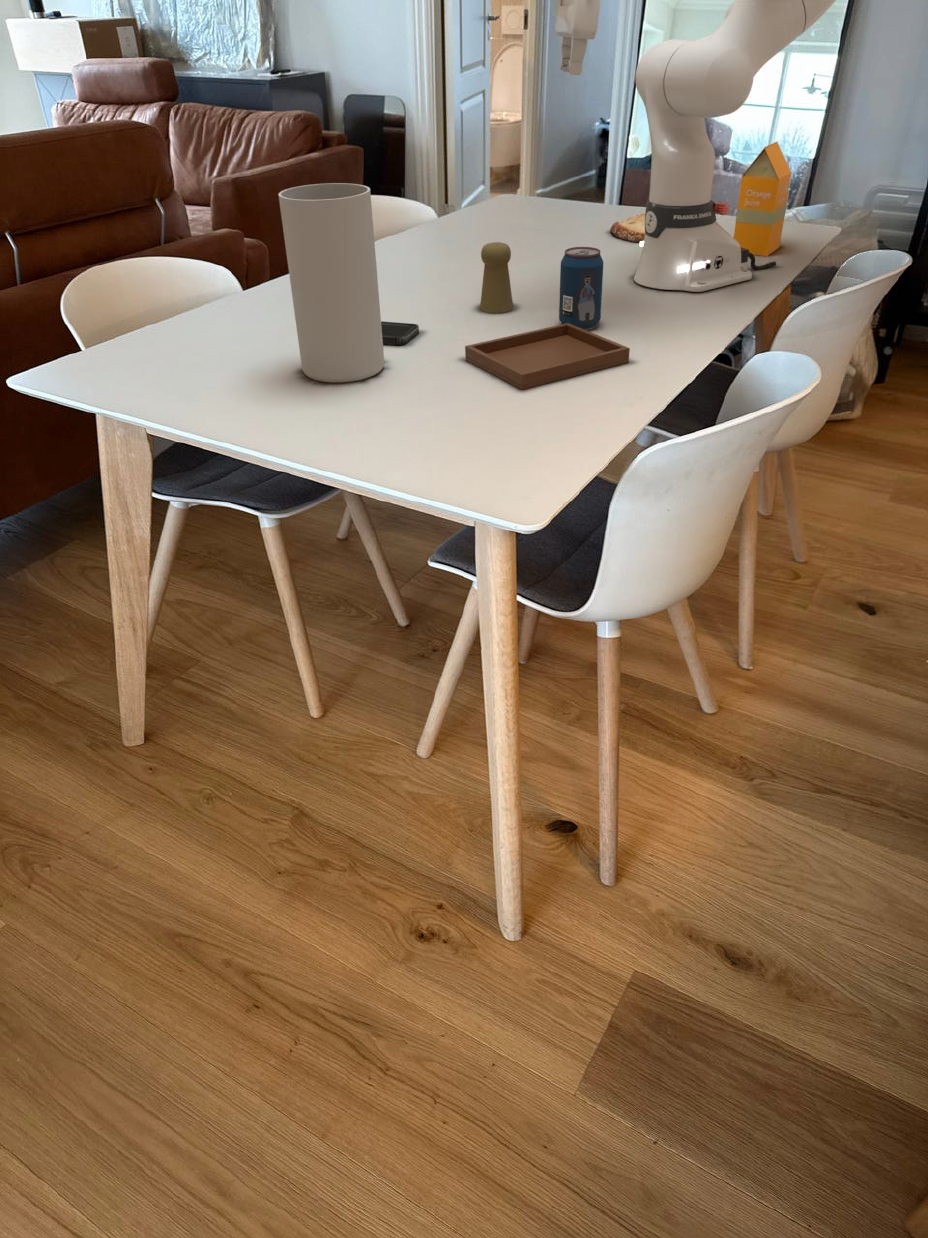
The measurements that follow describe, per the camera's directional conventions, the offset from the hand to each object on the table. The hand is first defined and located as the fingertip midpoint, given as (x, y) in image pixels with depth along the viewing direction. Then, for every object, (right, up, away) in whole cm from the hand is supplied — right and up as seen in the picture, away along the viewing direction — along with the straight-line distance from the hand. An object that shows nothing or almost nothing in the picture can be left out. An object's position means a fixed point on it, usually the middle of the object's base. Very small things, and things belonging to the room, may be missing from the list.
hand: (570, 72), depth 140 cm
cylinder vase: (-35, -47, -2) cm, 58 cm away
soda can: (+3, -35, +12) cm, 38 cm away
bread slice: (+26, +1, +64) cm, 69 cm away
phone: (-32, -37, +11) cm, 50 cm away
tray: (-4, -45, -2) cm, 45 cm away
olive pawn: (-11, -29, +22) cm, 38 cm away
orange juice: (+45, -7, +51) cm, 69 cm away
